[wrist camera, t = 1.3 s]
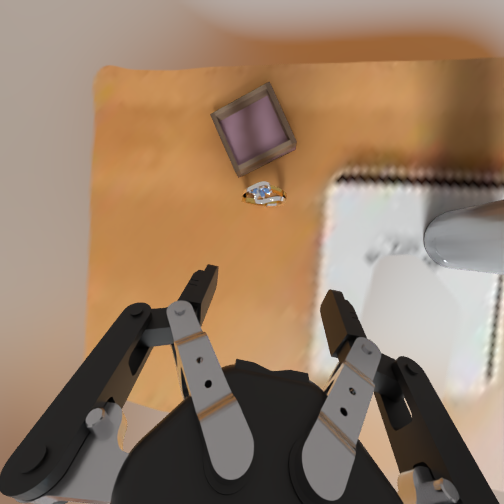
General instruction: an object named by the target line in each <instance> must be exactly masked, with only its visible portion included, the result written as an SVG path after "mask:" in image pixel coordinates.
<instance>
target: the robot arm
mask: <svg viewBox="0 0 504 504" xmlns="http://www.w3.org/2000/svg"><path fill="white" fill-rule="evenodd" d="M424 242H425V248H426V251H427V253H428V254H429V256H430V257H431V258H432V259H433V260H434V261H435V262H436V263H438V264H439V265H442V266H444V267H447V268H452V269H460V270H469V271H477V272H486V273H495V274H504V200H500V201H495V202H491V203H486V204H482V205H477V206H472V207H467V208H463V209H458V210H454V211H449V212H446V213H443V214H441V215H440V216H438V217H436V218H435V219H434V220H433V221H432V222H431V223H430V225H429V226H428V228H427V230H426V233H425V238H424ZM217 278H218V266H214V265H209V264H208V265H207V267H206V269H205V271H203V270H198V271H197V272H195V273H194V274H193V275H192V277H191V279H190V281H189V282H188V284H187V286H186V287H185V289H184V291H183V292H182V294H181V296H180V297H179V299H178V301H176V302H174V303H172V304H171V305H169V307H166V308H158V309H151V307H150V306H149V305H148V304H146V303H135V304H132V305H130V306H128V307H127V308H125V309H124V311H123V312H122V313H121V314H120V316H119V317H118V318H117V320H116V321H115V322H114V323H113V325H112V326H111V327H110V329H109V330H108V331H107V332H106V334H105V335H104V336H103V338H102V339H101V340H100V342H99V343H98V344H97V345H96V347H95V348H94V349H93V351H92V352H91V353H90V354H89V356H88V357H87V358H86V360H85V361H84V362H83V363H82V365H81V366H80V367H79V369H78V370H77V371H76V373H75V374H74V375H73V376H72V378H71V379H70V380H69V382H68V383H67V384H66V385H65V387H64V388H63V390H62V391H61V392H60V394H58V396H57V397H56V398H55V400H54V401H53V402H52V403H51V405H50V406H49V407H48V409H47V410H46V411H45V413H44V414H43V415H42V417H41V418H40V419H39V420H38V422H37V423H36V424H35V425H34V427H33V428H32V429H31V431H30V432H29V433H28V434H27V436H26V437H25V438H24V440H23V441H22V442H21V444H20V445H19V446H18V447H17V449H16V450H15V451H14V453H13V454H12V455H11V457H10V458H9V459H8V461H7V462H6V464H5V466H4V467H3V469H2V472H1V474H0V491H1V493H2V494H4V495H6V496H9V497H12V498H15V500H16V501H18V502H20V503H23V504H65V503H67V502H68V501H70V502H80V503H90V504H499V502H498V500H497V499H496V497H495V495H494V493H493V492H492V490H491V488H490V486H489V485H488V483H487V481H486V479H485V478H484V476H483V474H482V472H481V471H480V469H479V467H478V465H477V463H476V462H475V460H474V458H473V456H472V455H471V453H470V451H469V449H468V448H467V446H466V444H465V442H464V441H463V439H462V437H461V435H460V434H459V432H458V430H457V428H456V427H455V425H454V423H453V421H452V420H451V418H450V416H449V414H448V412H447V411H446V409H445V407H444V405H443V404H442V402H441V400H440V398H439V397H438V395H437V393H436V392H435V390H434V388H433V386H432V385H431V383H430V381H429V379H428V377H427V376H426V374H425V373H424V371H423V369H422V368H421V367H420V366H419V365H418V364H417V363H416V362H415V361H413V360H411V359H410V358H407V357H404V356H401V357H399V358H398V359H396V360H395V359H393V358H390V357H388V356H386V355H384V354H382V353H381V352H380V350H379V348H378V347H377V346H376V344H374V343H373V342H372V341H370V340H369V339H367V337H366V335H365V333H364V330H363V328H362V326H361V324H360V321H359V320H358V317H357V314H356V312H355V310H354V308H353V306H352V305H351V304H350V303H349V301H348V300H345V299H344V296H343V294H342V292H340V291H336V290H331V289H330V290H329V291H328V292H327V294H326V296H325V298H324V300H323V302H322V304H321V307H320V313H321V317H322V321H323V325H324V329H325V334H326V338H327V342H328V346H329V350H330V354H331V357H336V358H338V359H339V362H338V364H337V365H336V367H335V369H334V370H333V372H332V374H331V376H330V378H329V379H328V381H327V383H326V385H325V386H324V388H323V389H321V388H320V387H318V386H317V385H316V384H315V383H313V382H311V381H310V380H309V377H308V373H303V372H298V371H293V370H284V371H270V370H268V369H266V368H264V367H262V366H260V365H258V364H256V363H254V362H249V361H244V360H239V359H236V363H235V364H234V365H228V366H225V367H222V368H221V366H220V364H219V362H218V359H217V357H216V355H215V352H214V350H213V348H212V345H211V343H210V340H209V338H208V336H207V334H206V333H205V332H203V331H202V329H201V326H202V323H203V321H204V318H205V316H206V313H207V310H208V308H209V305H210V303H211V300H212V298H213V295H214V292H215V290H216V286H217ZM169 344H170V346H171V349H172V353H173V357H174V361H175V365H176V369H177V373H178V379H179V384H180V388H181V392H182V396H183V401H182V402H181V403H180V404H179V405H178V406H177V407H176V408H175V409H174V410H172V411H171V412H170V413H169V414H168V415H167V416H166V417H165V418H164V419H163V420H162V421H161V422H159V423H158V424H157V426H155V427H154V428H153V429H152V430H151V431H150V432H149V433H148V434H146V435H145V436H144V437H143V438H142V439H141V440H140V441H139V442H138V443H137V444H136V445H135V446H134V448H133V449H132V450H131V452H130V453H126V452H124V451H123V440H124V436H125V433H126V430H127V420H126V418H125V416H124V414H123V411H122V408H123V406H124V404H125V402H126V400H127V398H128V396H129V394H130V392H131V390H132V388H133V386H134V384H135V382H136V380H137V378H138V376H139V374H140V372H141V370H142V368H143V366H144V364H145V362H146V360H147V358H148V356H149V354H150V352H151V350H152V349H153V347H154V346H161V345H169ZM373 392H374V395H375V398H376V401H377V404H378V407H379V410H380V413H381V416H382V419H383V422H384V425H385V428H386V431H387V435H388V438H389V441H390V444H391V447H392V450H393V453H394V456H395V459H396V462H397V465H398V468H399V471H400V475H399V477H398V490H399V491H398V493H397V492H396V491H395V489H394V488H393V487H392V485H391V484H390V482H389V481H388V479H387V478H386V477H385V475H384V474H383V472H382V471H381V470H380V468H379V467H378V465H377V464H376V463H375V462H374V460H373V459H372V457H371V456H370V455H369V453H368V452H367V450H366V449H365V448H364V447H363V445H362V443H361V442H360V440H359V439H358V437H359V434H360V431H361V428H362V425H363V422H364V419H365V416H366V413H367V410H368V407H369V403H370V401H371V398H372V395H373ZM404 398H405V399H406V401H407V404H408V406H409V408H410V410H411V413H412V417H411V415H410V412H409V410H408V408H407V406H406V403H405V401H404Z"/></svg>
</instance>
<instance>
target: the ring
mask: <svg viewBox="0 0 504 504" xmlns="http://www.w3.org/2000/svg"><path fill="white" fill-rule="evenodd" d="M264 187H267V188H264ZM272 192H273V193H276V194H278V195H280V196H276V197H270V198H266V199H265V195H266V194H267V195H271V194H272ZM250 193H251V194H252V195H254V196H255V197H254V198H249V197H247V195H248V194H250ZM286 197H287V195H286V193H285V192H284V191H283V190H282V189H280V188H278V187H275V186H272V185H270V183H268V182H265V181H263V182H259V183H256V184H254V185H252V186H250V187H248V188H247V189H245V190H244V191H243V195H242V202H244V203H248V204H253V205H259V206H263V207H278V206H283V205H285V204H286ZM260 198H262V200H258V199H260ZM272 201H273V202H272Z"/></svg>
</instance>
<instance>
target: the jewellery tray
mask: <svg viewBox="0 0 504 504" xmlns="http://www.w3.org/2000/svg"><path fill="white" fill-rule="evenodd" d="M210 115H211V117H212V120H213V122H214V124H215V127H216V129H217V131H218V133H219V136H220V138H221V140H222V143H223V145H224V147H225V149H226V152H227V154H228V156H229V159H230V161H231V163H232V166H233V168H234V170H235V172H236V174H237V176H238V178H239V177H241V176H243V175H245V174H247V173H249V172H251V171H253V170H255V169H257V168H259V167H261V166H263V165H265V164H267V163H269V162H271V161H273V160H275V159H277V158H279V157H281V156H284V155H286V154H288V153H290V152H292V151H294V150H295V149H296V143H297V141H296V139H295V137H294V135H293V132H292V130H291V128H290V126H289V124H288V121H287V119H286V117H285V115H284V113H283V110H282V108H281V106H280V104H279V101H278V99H277V97H276V95H275V93H274V90H273V88H272V86H271V84H270V82H268V83H266V84H264V85H262V86H260V87H259V88H257V89H255V90H253V91H251V92H250V93H248V94H246V95H244V96H242V97H241V98H239V99H237V100H235V101H233V102H232V103H230V104H228V105H226V106H224V107H223V108H221V109H219V110H217V111H215V112H213V113H212V114H210Z"/></svg>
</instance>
